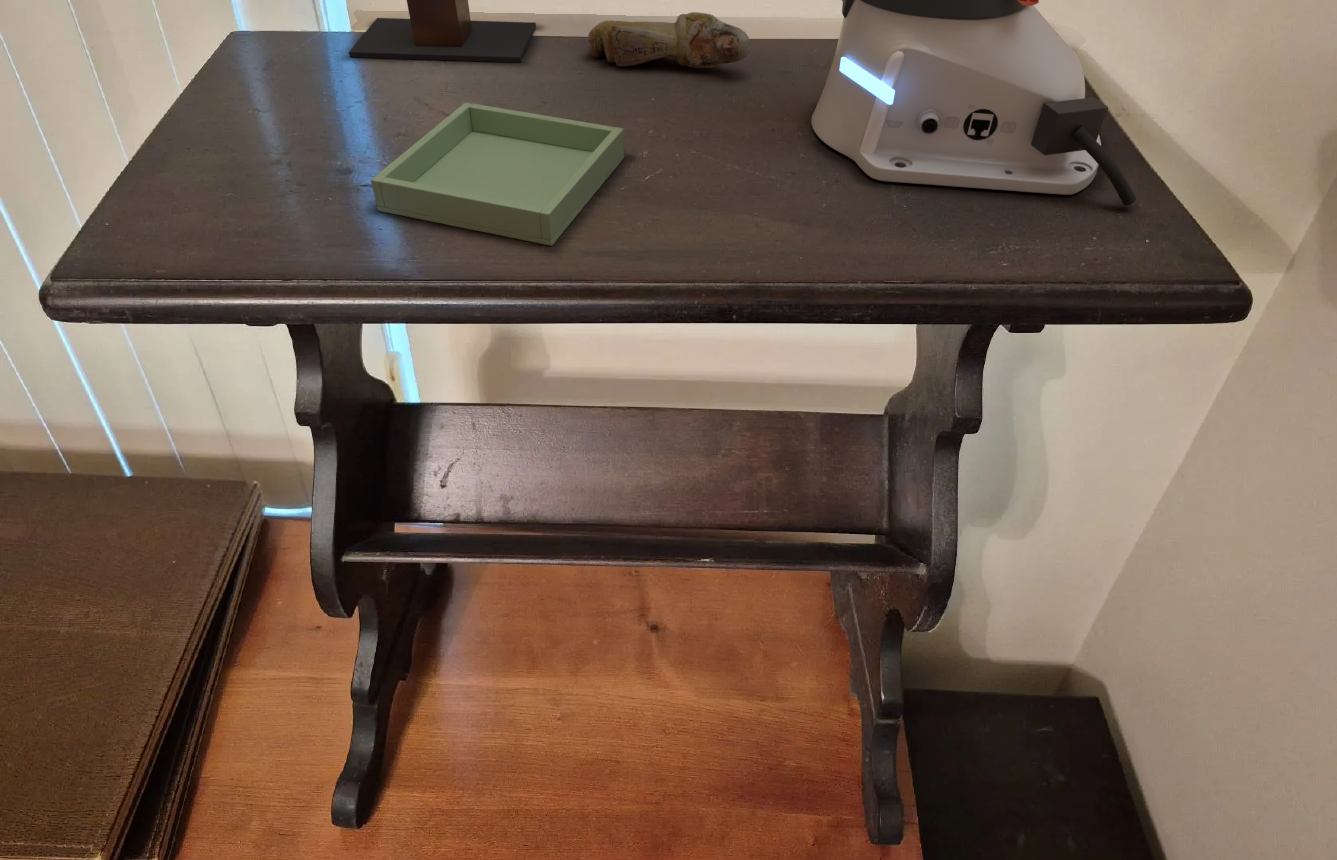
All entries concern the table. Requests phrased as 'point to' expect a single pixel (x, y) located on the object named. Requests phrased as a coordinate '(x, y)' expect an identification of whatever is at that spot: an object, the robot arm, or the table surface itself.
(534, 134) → the tray
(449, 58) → the mat
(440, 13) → the block
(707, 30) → the figurine
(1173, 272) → the table surface
